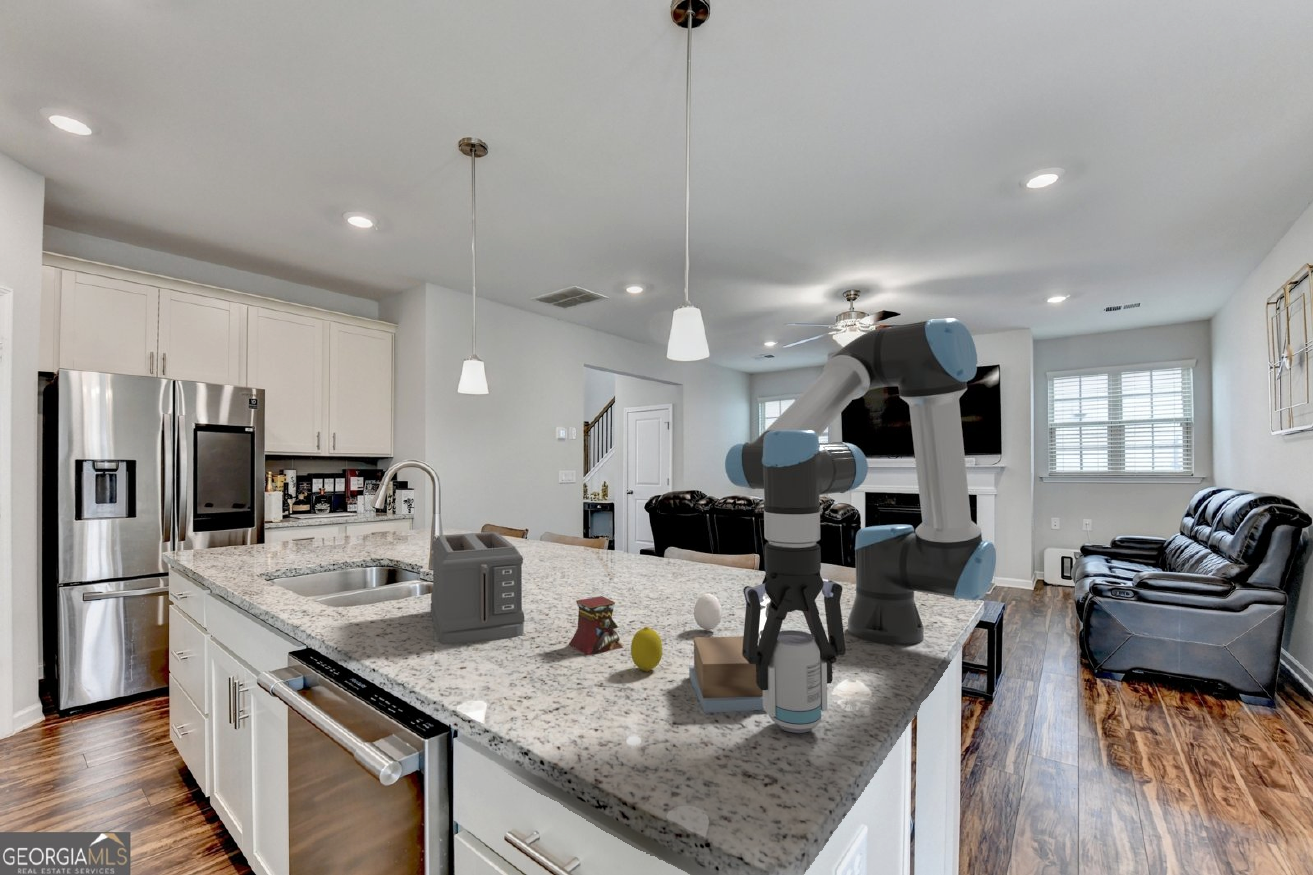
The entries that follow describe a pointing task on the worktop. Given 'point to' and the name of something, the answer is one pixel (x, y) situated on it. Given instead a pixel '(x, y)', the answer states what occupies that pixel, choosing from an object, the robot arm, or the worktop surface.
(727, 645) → the walnut brick
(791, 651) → the beverage can
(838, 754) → the worktop surface
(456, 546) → the toaster
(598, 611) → the tiki totem
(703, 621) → the egg
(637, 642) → the lemon
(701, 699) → the base brick
